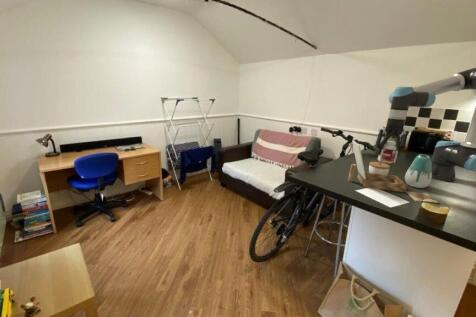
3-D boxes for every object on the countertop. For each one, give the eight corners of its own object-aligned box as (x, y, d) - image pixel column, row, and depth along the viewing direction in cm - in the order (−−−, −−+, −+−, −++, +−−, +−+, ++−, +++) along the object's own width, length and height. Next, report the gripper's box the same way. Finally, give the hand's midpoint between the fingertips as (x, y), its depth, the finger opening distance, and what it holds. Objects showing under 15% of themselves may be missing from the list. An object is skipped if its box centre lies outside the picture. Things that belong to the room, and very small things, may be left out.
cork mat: (427, 194, 117) (427, 193, 117) (439, 204, 107) (439, 202, 107) (405, 192, 119) (406, 191, 118) (415, 201, 109) (415, 199, 109)
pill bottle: (377, 160, 124) (381, 140, 121) (383, 159, 127) (388, 140, 124) (388, 163, 119) (393, 143, 116) (395, 162, 122) (400, 142, 119)
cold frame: (394, 182, 132) (398, 165, 129) (405, 192, 119) (410, 174, 116) (345, 176, 137) (348, 160, 134) (351, 185, 124) (355, 168, 121)
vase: (430, 192, 120) (440, 160, 115) (403, 186, 126) (412, 155, 121) (426, 185, 130) (436, 155, 124) (402, 180, 136) (410, 151, 130)
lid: (353, 140, 130) (352, 140, 130) (359, 145, 117) (358, 145, 118) (359, 170, 134) (357, 171, 134) (365, 178, 122) (364, 179, 122)
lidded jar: (390, 180, 134) (394, 165, 131) (370, 178, 136) (373, 163, 133) (382, 174, 144) (386, 160, 141) (364, 172, 146) (367, 158, 143)
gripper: (414, 118, 118) (402, 160, 125) (373, 116, 121) (364, 157, 128) (422, 120, 111) (409, 165, 118) (378, 117, 114) (369, 161, 121)
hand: (386, 161), depth 123 cm, fingers closed on pill bottle, 6 cm apart
